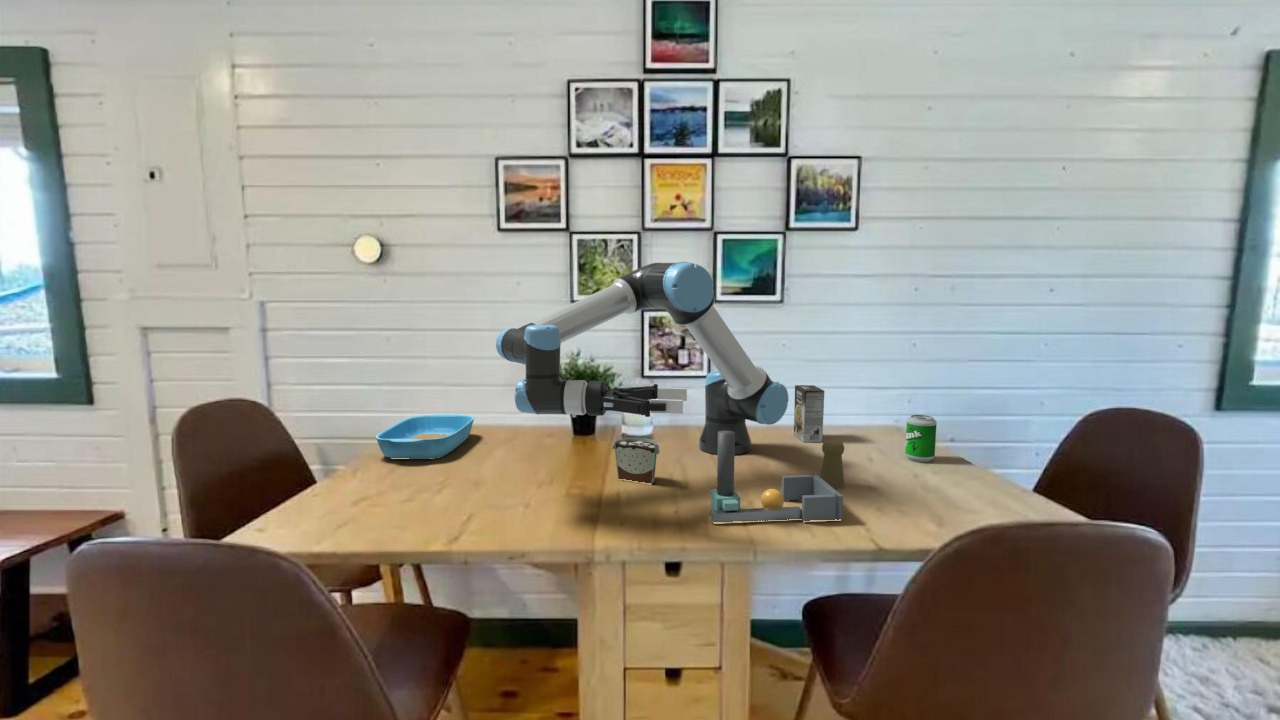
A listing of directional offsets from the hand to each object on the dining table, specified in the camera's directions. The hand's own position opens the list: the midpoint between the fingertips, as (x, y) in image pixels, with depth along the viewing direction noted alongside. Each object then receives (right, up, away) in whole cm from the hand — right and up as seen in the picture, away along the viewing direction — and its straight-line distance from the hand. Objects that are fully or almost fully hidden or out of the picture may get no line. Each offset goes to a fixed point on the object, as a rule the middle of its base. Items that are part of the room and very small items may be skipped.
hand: (685, 400), depth 146 cm
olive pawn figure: (+37, -22, +21) cm, 48 cm away
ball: (+19, -24, +4) cm, 31 cm away
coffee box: (+42, -16, +66) cm, 80 cm away
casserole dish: (-72, -18, +58) cm, 94 cm away
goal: (+28, -24, +5) cm, 37 cm away
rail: (+15, -25, -2) cm, 29 cm away
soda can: (+68, -19, +43) cm, 82 cm away
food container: (-10, -22, +27) cm, 35 cm away
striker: (+9, -24, +1) cm, 26 cm away
